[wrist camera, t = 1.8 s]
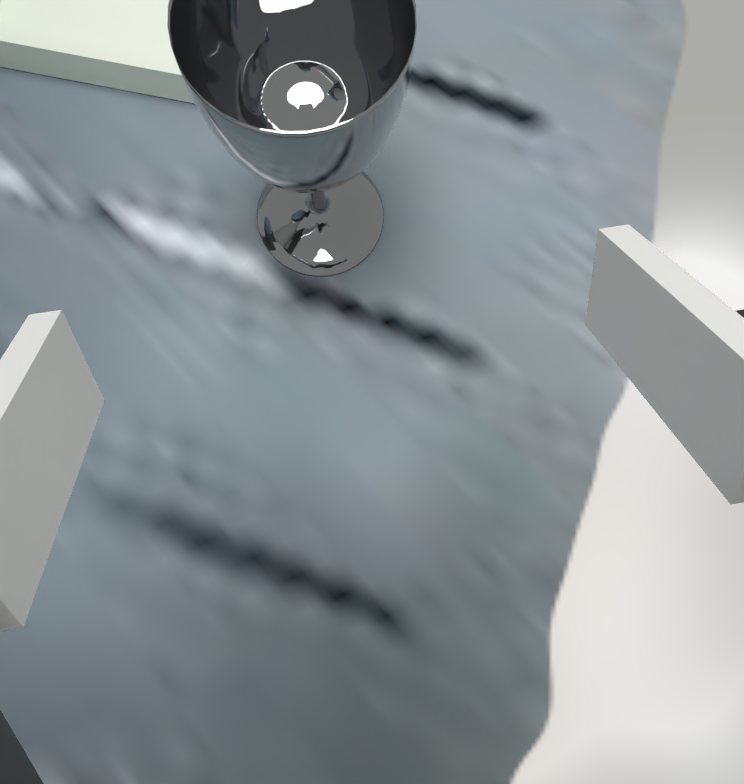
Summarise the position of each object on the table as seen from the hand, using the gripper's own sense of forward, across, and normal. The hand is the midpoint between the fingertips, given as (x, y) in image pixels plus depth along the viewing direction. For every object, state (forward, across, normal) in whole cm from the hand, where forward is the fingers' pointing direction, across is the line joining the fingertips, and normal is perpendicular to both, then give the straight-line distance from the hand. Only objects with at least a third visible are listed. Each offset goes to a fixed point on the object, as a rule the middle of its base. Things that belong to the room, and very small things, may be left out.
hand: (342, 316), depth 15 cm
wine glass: (+20, 0, -5) cm, 21 cm away
